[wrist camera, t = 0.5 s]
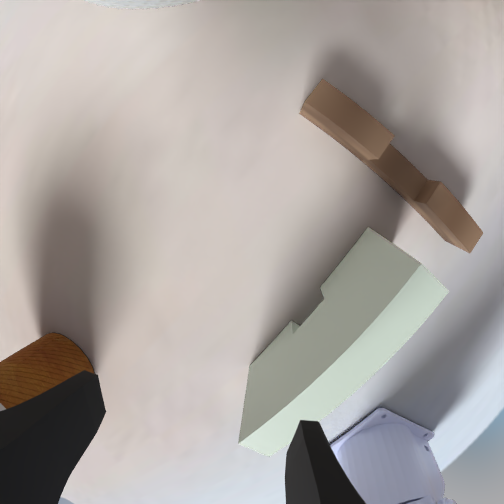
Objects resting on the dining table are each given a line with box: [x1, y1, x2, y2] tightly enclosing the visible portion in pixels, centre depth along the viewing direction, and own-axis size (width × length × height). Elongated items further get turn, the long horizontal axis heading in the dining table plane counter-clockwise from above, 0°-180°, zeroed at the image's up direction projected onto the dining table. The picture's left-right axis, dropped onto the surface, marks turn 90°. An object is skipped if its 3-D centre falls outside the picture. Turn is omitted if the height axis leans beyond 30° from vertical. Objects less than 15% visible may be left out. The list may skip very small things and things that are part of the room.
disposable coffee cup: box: [0, 333, 94, 411], centre depth 16 cm, size 10×10×12 cm
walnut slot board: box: [299, 79, 483, 253], centre depth 14 cm, size 12×2×3 cm, turn 55°
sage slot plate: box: [238, 227, 449, 457], centre depth 15 cm, size 12×2×7 cm, turn 145°
